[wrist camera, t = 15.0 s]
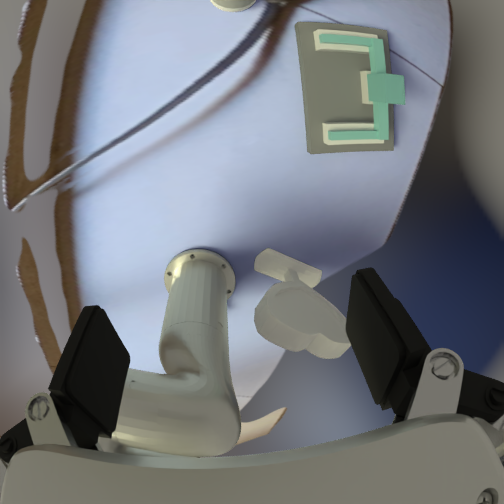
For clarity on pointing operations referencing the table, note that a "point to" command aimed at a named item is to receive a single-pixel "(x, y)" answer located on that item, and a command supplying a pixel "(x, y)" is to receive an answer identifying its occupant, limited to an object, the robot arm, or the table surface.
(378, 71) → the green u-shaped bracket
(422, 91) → the table surface
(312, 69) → the stand
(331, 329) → the heart sculpture
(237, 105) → the table surface
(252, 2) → the white bottle
